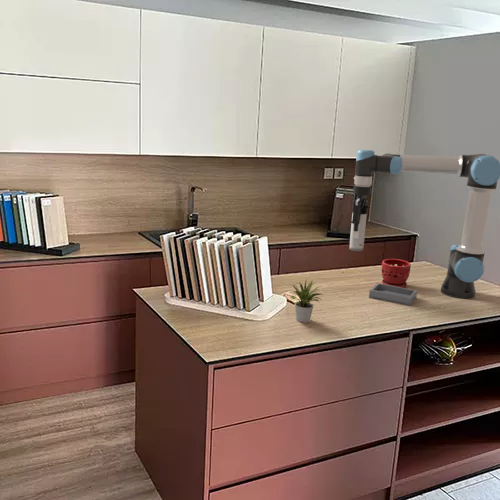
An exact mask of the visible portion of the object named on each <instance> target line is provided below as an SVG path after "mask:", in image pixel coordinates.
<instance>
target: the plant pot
mask: <svg viewBox="0 0 500 500" xmlns="http://www.w3.org/2000/svg"><path fill="white" fill-rule="evenodd" d="M411 266H412V265H411V263H410V261H407V260H403V259H399V258H386V259H383V260H382V262H381V275H382V277H381V278H383V279H382V280H381V284H385V285H391V286H396V287H401V288H406V287H407V285H408V283H407V280H408V279H409V277H410V272H411Z"/></svg>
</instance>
